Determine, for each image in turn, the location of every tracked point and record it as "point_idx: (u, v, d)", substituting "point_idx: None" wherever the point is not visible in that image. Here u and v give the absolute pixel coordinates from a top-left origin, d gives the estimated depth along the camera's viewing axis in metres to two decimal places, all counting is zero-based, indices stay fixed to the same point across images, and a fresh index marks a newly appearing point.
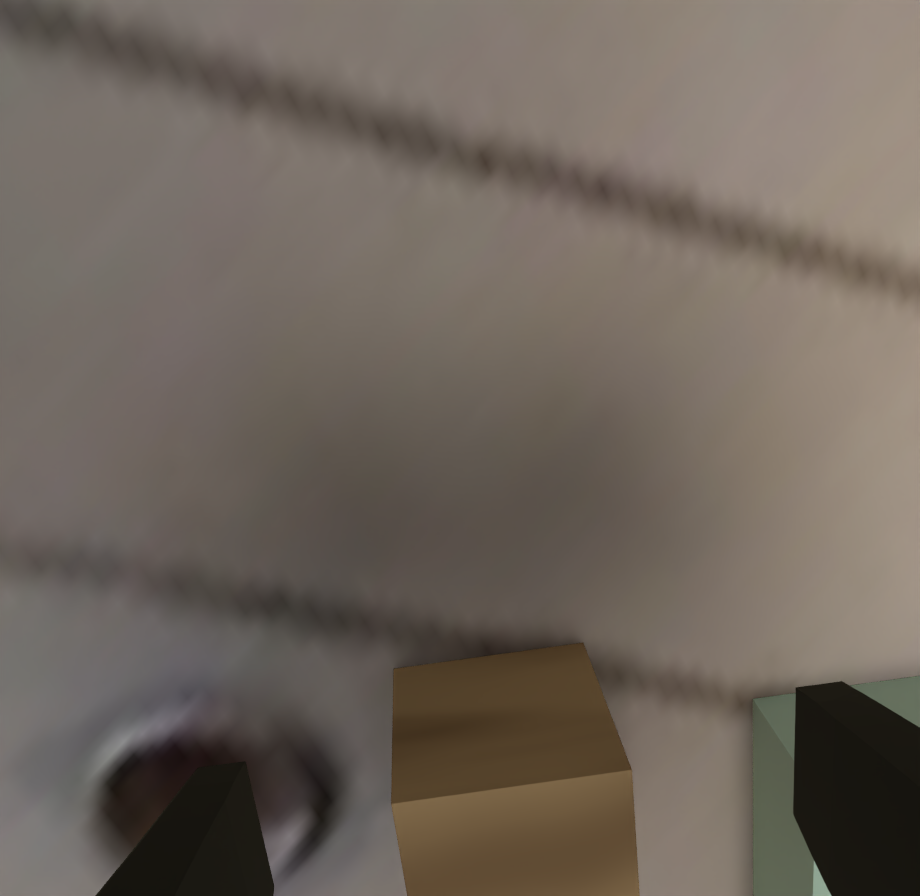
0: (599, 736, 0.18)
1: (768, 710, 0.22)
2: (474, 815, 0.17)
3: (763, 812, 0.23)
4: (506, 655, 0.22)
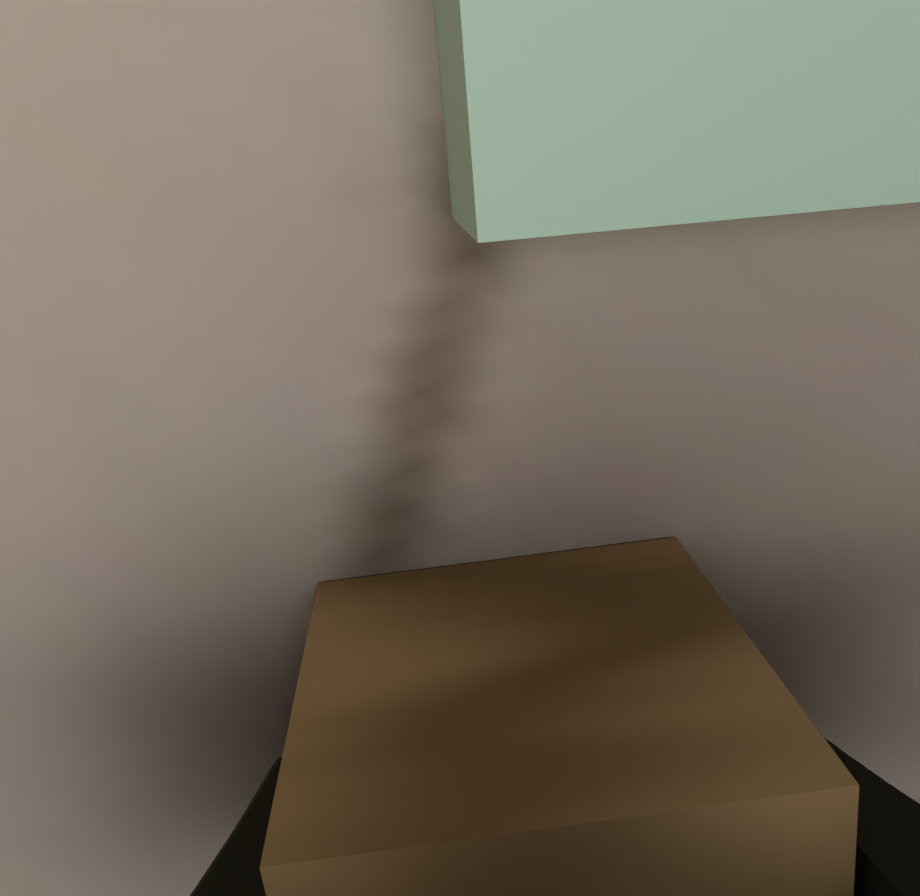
0: None
1: (453, 203, 0.10)
2: None
3: None
4: None
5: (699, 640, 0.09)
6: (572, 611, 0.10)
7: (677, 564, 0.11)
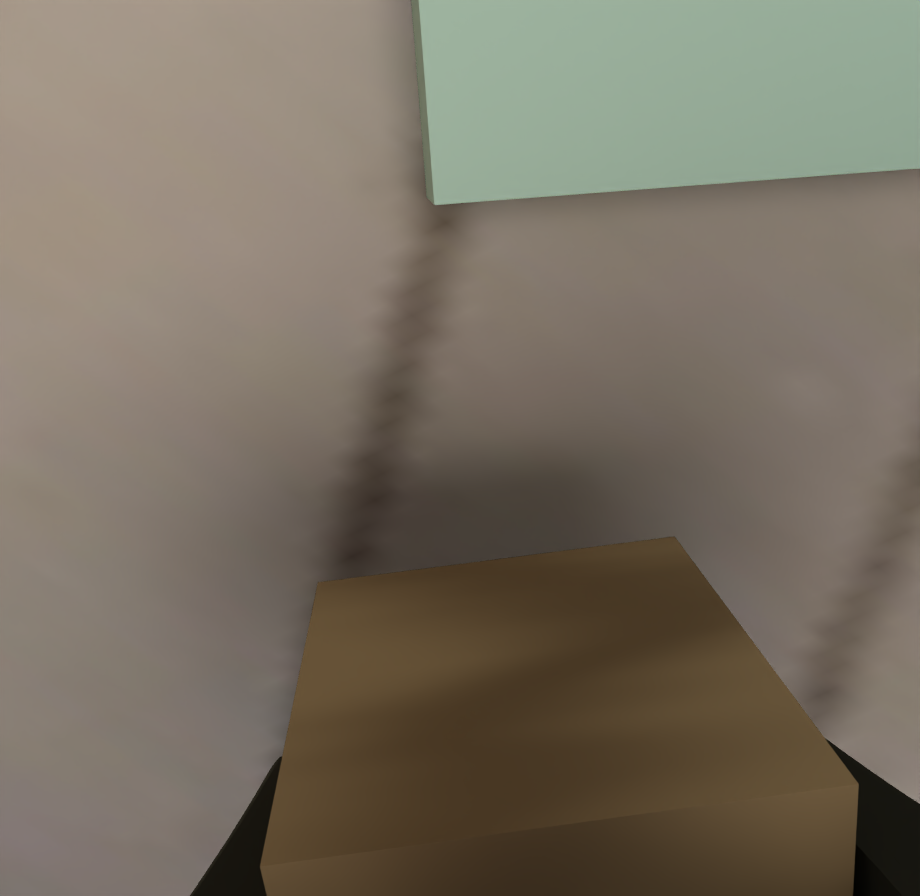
0: None
1: (426, 186, 0.15)
2: None
3: None
4: None
5: (699, 638, 0.09)
6: (572, 610, 0.10)
7: (676, 563, 0.11)
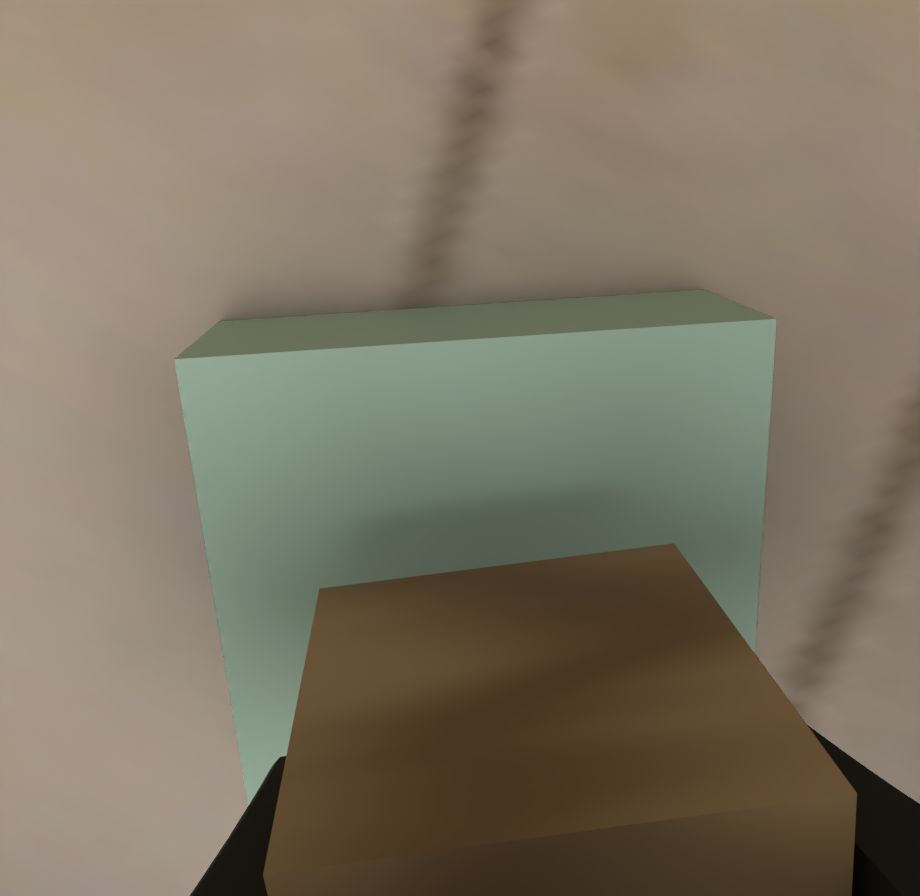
0: None
1: None
2: None
3: None
4: None
5: (699, 646, 0.09)
6: (572, 618, 0.10)
7: (677, 570, 0.11)
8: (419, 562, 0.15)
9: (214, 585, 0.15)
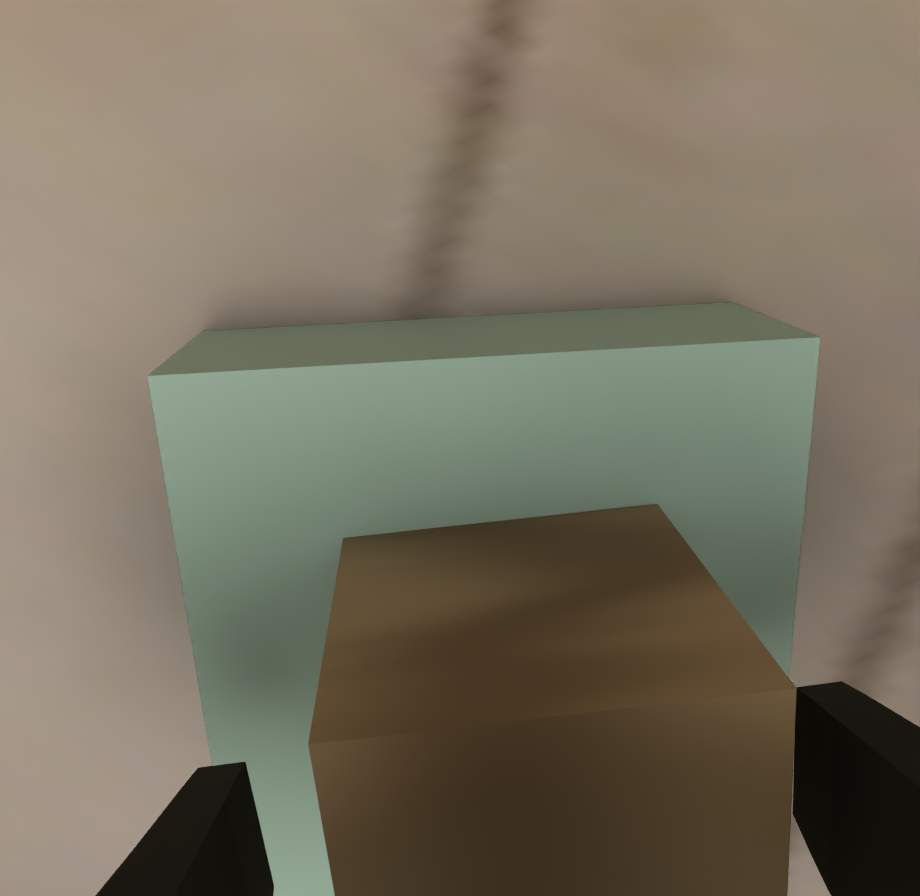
0: None
1: None
2: None
3: None
4: None
5: (674, 584, 0.11)
6: (566, 561, 0.12)
7: (659, 525, 0.13)
8: None
9: (191, 625, 0.14)
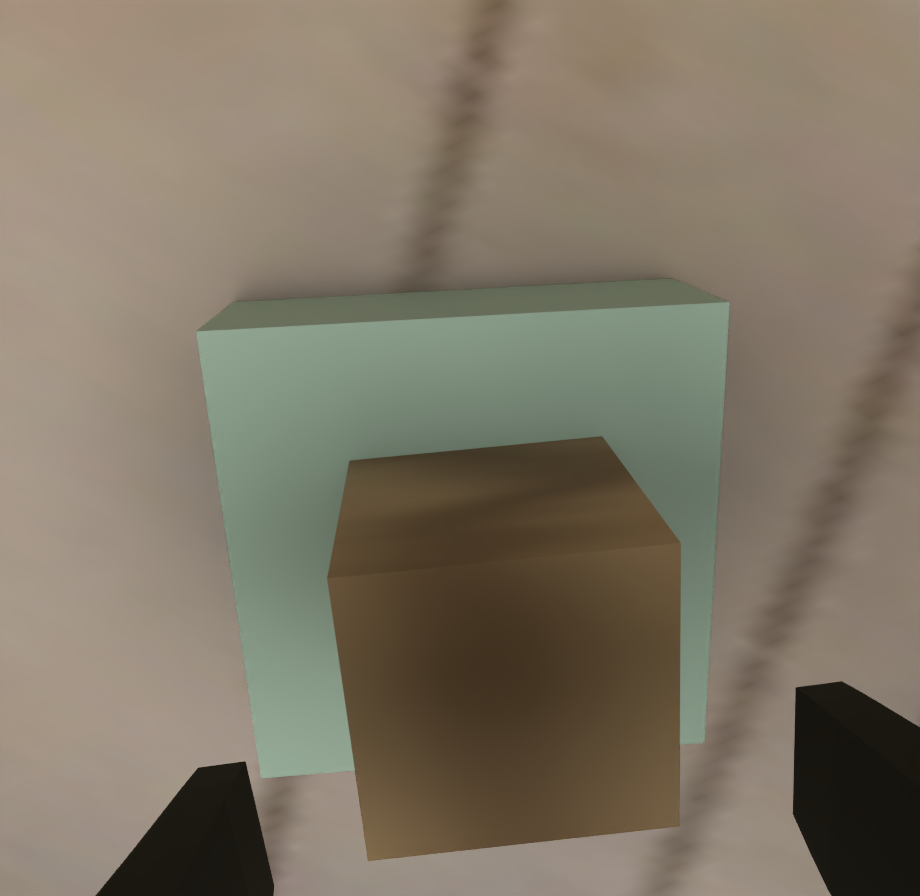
0: None
1: None
2: (393, 771, 0.13)
3: None
4: None
5: (605, 485, 0.14)
6: (525, 473, 0.15)
7: (600, 449, 0.16)
8: None
9: (228, 535, 0.17)
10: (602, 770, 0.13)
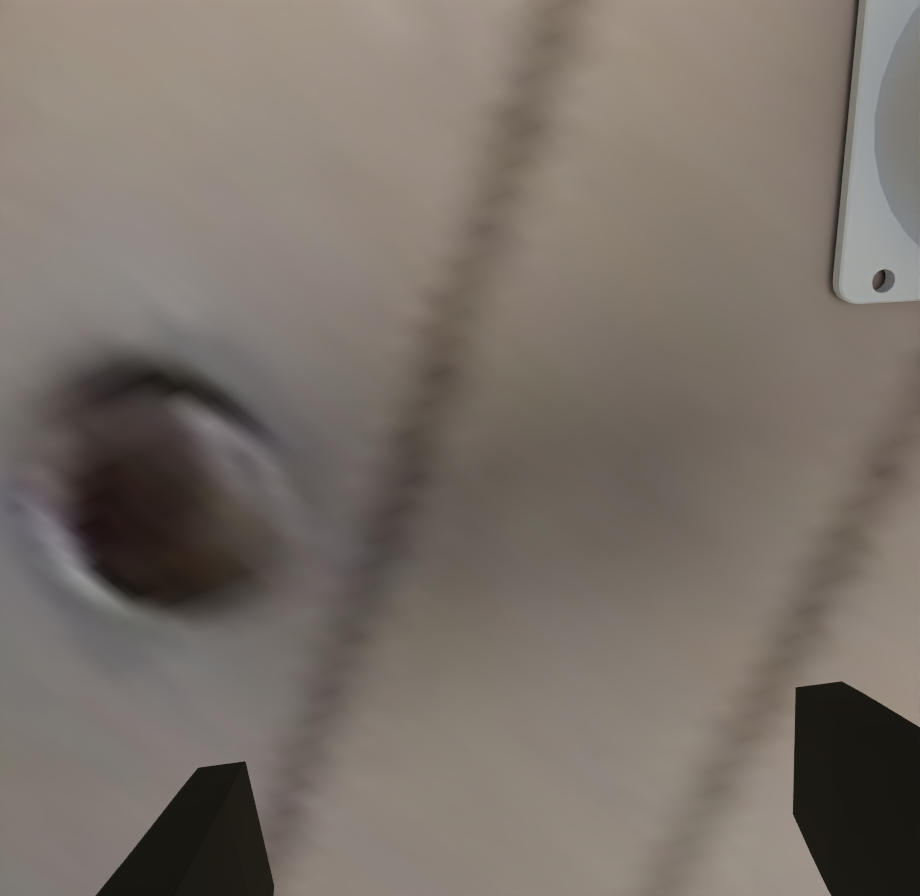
0: None
1: None
2: None
3: None
4: None
5: None
6: None
7: None
8: None
9: None
10: None
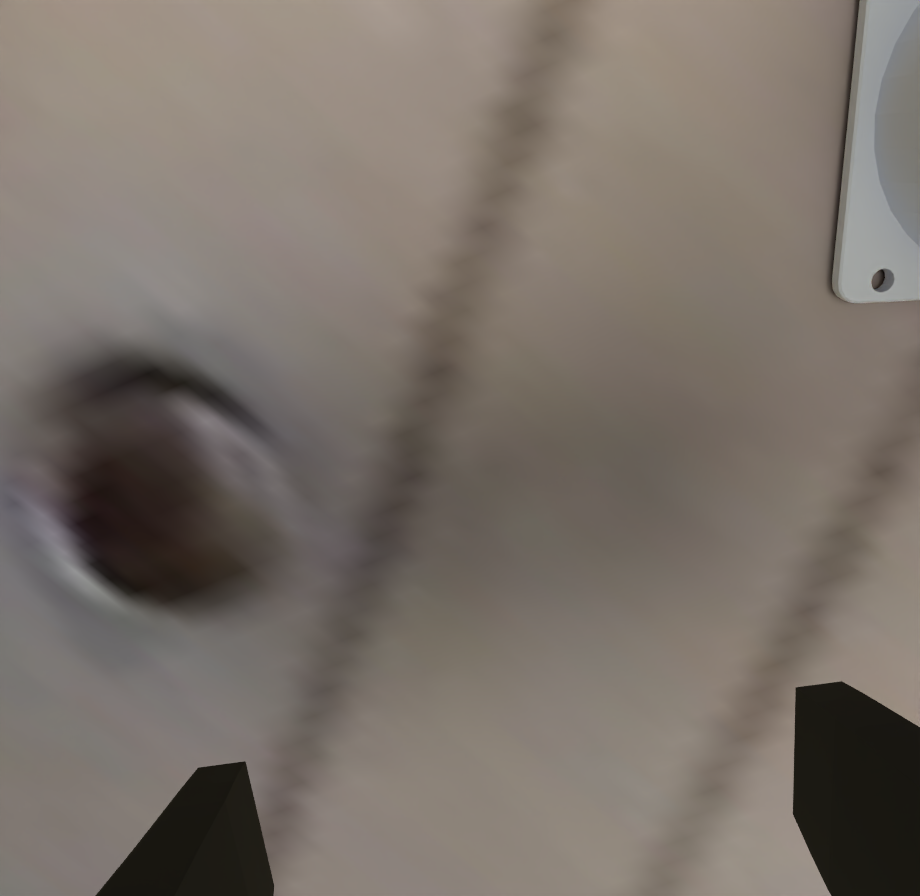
0: None
1: None
2: None
3: None
4: None
5: None
6: None
7: None
8: None
9: None
10: None
